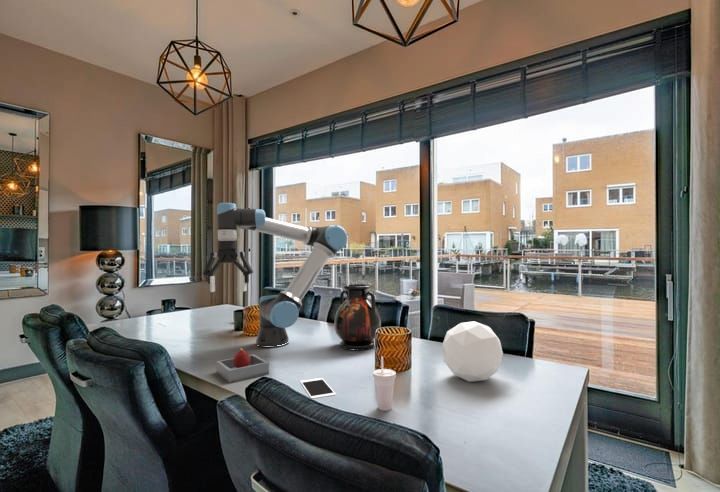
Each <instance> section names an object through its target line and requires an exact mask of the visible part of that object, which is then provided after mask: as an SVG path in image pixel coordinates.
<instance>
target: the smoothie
mask: <svg viewBox="0 0 720 492" xmlns="http://www.w3.org/2000/svg"><path fill="white" fill-rule="evenodd" d="M380 357H381V359H380V360H381V361H380V365H381V366H380V368H381V369H380V368H379V369H375V370H374V371H372V378H374V385H375V386H374V387H375V395H376V402H377V408H378V410H380V411H385V412H386V411H390V410H392V408H393V407H392V406H393V398H394V387H395V379H396V377H397V373H396V371H395V370H393V369H389V368H384V356H380Z"/></svg>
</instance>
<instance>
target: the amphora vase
mask: <svg viewBox="0 0 720 492" xmlns="http://www.w3.org/2000/svg"><path fill="white" fill-rule="evenodd" d="M342 288H343V290H342V291H340V294H339V295H340V296H339V305H340V306H339V307H338V309H337V310H336V313H335V316H334V323H333V326H334V327H333V328H334V329H333V330H334V331H335V334H336V336H337V337H338V338H339V339H340V340H341V341H340V342H339V346H340V347H341V348H342V347H343V349H345V348H346V349H345V350H348V349H354V350H353V351H363V350H362V349H366V350H369V349H368V348H370V349H372V348H374V347H375V346H374V341H375V339H376V337H375V331H376V329H377V328H381V327H382V322H381V317H380V313H379V310H378V309H377V307H376V296H375V294H374V292H372V291H369V289H371V288H372V286H371V284H365V283H364V284H363V283H361V284H360V283H354V284H345V285H343V286H342ZM345 294H346V298H345V297H344V296H345ZM369 296H370V299H369V298H368V297H369ZM344 298H345V299H344ZM381 329H382V328H381ZM373 346H374V347H373Z"/></svg>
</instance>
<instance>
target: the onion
mask: <svg viewBox="0 0 720 492" xmlns="http://www.w3.org/2000/svg"><path fill="white" fill-rule="evenodd" d="M249 355H250V354H249V353H248V352H247V351H245V350H244V349H243V348H239V351H238V352H237V353H236V354H235V355H234V357H233V358H234V359H233V364H234V366H235V367H236V368H241V367H245V366H248V365H249V363H250V356H249Z"/></svg>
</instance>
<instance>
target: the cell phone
mask: <svg viewBox="0 0 720 492" xmlns="http://www.w3.org/2000/svg"><path fill="white" fill-rule="evenodd" d="M299 382H300V384H301V386H302V387H303V389H304V390H305V392H306V393H307V395H308V396H309V398H310V399H311V398H312V400H314V399H320V398H326V397H333V396H336V395H337V393H336V392H335V391H334V390H333V388H332V387H331V386H330V384H328V383H327V382H326V380H325V379H324V378H323V377H319V378H318V377H317V378H316V377H315V378H309V379H304V380H302V379H301V380H299Z"/></svg>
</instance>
